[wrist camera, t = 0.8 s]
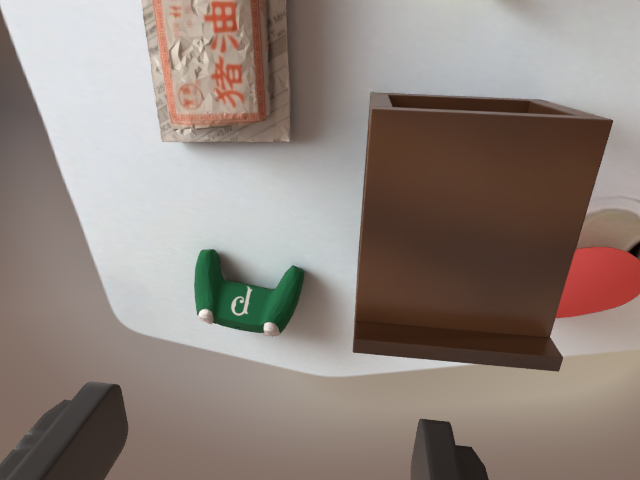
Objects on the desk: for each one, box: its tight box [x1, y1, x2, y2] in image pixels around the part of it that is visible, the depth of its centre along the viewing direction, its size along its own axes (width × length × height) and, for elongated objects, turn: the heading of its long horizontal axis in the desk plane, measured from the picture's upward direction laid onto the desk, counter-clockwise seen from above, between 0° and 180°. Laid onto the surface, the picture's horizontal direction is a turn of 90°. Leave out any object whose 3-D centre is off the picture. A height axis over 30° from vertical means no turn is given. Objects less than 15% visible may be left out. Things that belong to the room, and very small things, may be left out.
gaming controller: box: [194, 249, 304, 336], centre depth 38 cm, size 9×4×6 cm
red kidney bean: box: [556, 247, 640, 318], centre depth 34 cm, size 5×9×6 cm, turn 97°
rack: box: [353, 92, 613, 371], centre depth 29 cm, size 14×12×12 cm
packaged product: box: [141, 0, 291, 142], centre depth 28 cm, size 18×5×10 cm
